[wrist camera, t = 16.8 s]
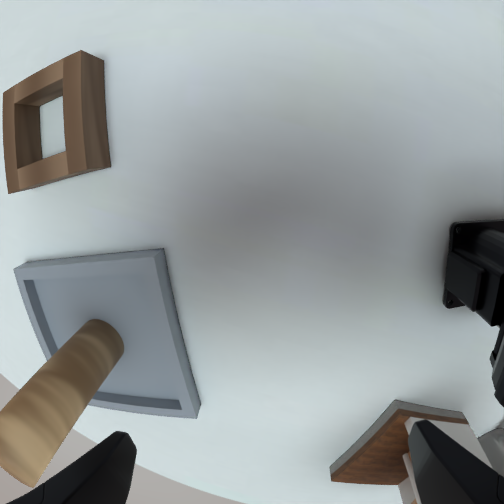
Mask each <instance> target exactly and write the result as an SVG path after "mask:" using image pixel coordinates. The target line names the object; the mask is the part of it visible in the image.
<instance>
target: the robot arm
mask: <svg viewBox="0 0 504 504" xmlns="http://www.w3.org/2000/svg"><path fill="white" fill-rule="evenodd" d="M457 227H458V228H459V229H458V232H456V229H457ZM450 300H451V301H450ZM449 301H450V303H448V302H449ZM443 304H444V306H445V307H446V308H449V309H450V308H455V307H460V306H465V305H466V306H467V307H468V308H469V309H470V310H471V311H472V312H476V313H478V314H479V315H480V316H481V317H482V318H483V319H484V320H485V321H486V322H487V323H488V324H489V325H490V326H496V325H497V326H498V327H499V328H500V331H499V334H498V338H497V341H496V344H495V347H494V350H493V351H492V353H491V356H490V361H491V364H492V367H493V372H492V380H493V384H494V387H495V390H496V391H495V394H494V395H495V397H496V399H497V400H498V401H499V403H500V404H501V405H502V406H503V407H504V219H502V220H484V221H466V222H455V223H453V224H452V226H451V229H450V246H449V254H448V260H447V270H446V279H445V293H444V300H443ZM408 445H409V450H410V456H411V461H412V467H413V473H414V479H415V483H416V487H417V490H418V494H419V497H420V501H421V504H504V477H503V476H502V475H500V474H498V472H496V471H495V470H494V469H492V468H491V467H489V466H488V465H487V464H485V463H484V462H483V461H481V460H480V459H479V458H477V457H476V456H475V455H473V454H472V453H471V452H469V451H468V450H467V449H465V448H464V447H463V446H461V445H460V444H459V443H458V442H456V441H455V440H454V439H452V438H451V437H450V436H448V435H447V434H446V433H444V432H443V431H442V430H441V429H439V428H438V427H437V426H435V425H434V424H433V423H431V422H430V421H429V420H427V419H423V420H419V421H416V422H415V423H414V424H413V426H412V429H411V432H410V434H409V437H408ZM136 454H137V449H136V446H135V444H134V443H133V441H132V439H131V437H130V436H129V434H128V433H126V432H120V431H116V432H114V433H113V434H111V435H110V436H109V437H107V438H106V439H105V440H103V441H102V442H100V443H99V444H98V445H97V446H95V447H94V448H92V449H91V450H90V451H88V452H87V453H86V454H84V455H83V456H81V457H80V458H79V459H77V460H76V461H75V462H73V463H72V464H70V465H69V466H67V467H66V468H65V469H63V470H62V471H60V472H59V473H57V474H56V475H54V476H53V477H51V478H50V479H49V480H47V481H46V482H45V483H42V484H41V485H39V486H38V487H37V488H35V489H33V490H32V491H30V492H29V493H27V494H25V495H23V496H21V497H19V498H17V499H15V500H13V501H11V502H9V503H7V504H125V503H126V500H127V497H128V494H129V490H130V486H131V481H132V475H133V469H134V464H135V459H136Z"/></svg>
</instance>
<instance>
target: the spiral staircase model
mask: <svg viewBox="0 0 504 504" xmlns="http://www.w3.org/2000/svg"><path fill="white" fill-rule="evenodd" d="M423 419H427V420H429V421H430V422H431V423H433V424H434V425H435V426H437V427H438V428H439V429H441V430H442V431H443V432H444V433H446V434H447V435H448V436H450V437H451V438H452V439H454V440H455V441H456V442H458V443H459V444H460V445H461V446H463V447H464V448H465V449H467V450H468V451H469V452H471V453H472V454H473V455H475V456H476V457H477V458H479V459H480V460H481V461H483V462H484V463H485V464H487V465H488V466H489V467H491V468H492V466H491V464H490V462H489V460H488V458H487V456H486V454H485V452H484V451H483V449H482V447H481V445H480V443H479V441H478V439H477V438H476V436H475V434H474V432H473V430H472V429H471V427H470V425H469V423H468V422H467V420H466V418H465V416H464V415H463V413H462V412H457V411H450V410H444V409H438V408H433V407H427V406H422V405H417V404H412V403H407V402H403V401H398V400H394V401H393V402H392V404H391V405H390V406H389V407H388V408H387V409H386V410H385V412H384V413H383V414H382V415H381V416H380V417H379V418H378V419H377V421H376V422H375V423H374V424H373V425H372V426H371V427H370V428H369V429H368V430H367V431H366V432H365V433H364V434H363V435H362V436H361V437H360V438H359V439H358V440H357V441H356V442H355V443H354V444H353V445H352V446H351V447H350V448H349V449H348V450H347V451H346V452H345V453H344V454H343V455H342V456H341V457H340V458H339V459H338V460H337V461H336V462H334V463H333V464H332V465H331V466H330V474H331V481H334V482H344V483H357V484H376V485H398V486H399V490H400V494H401V497H402V501H403V504H421V501H420V497H419V494H418V490H417V487H416V483H415V479H414V473H413V467H412V461H411V456H410V450H409V445H408V437H409V434H410V432H411V429H412V426H413V424H414V423H415V422H416V421H419V420H423ZM492 469H493V468H492Z"/></svg>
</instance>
